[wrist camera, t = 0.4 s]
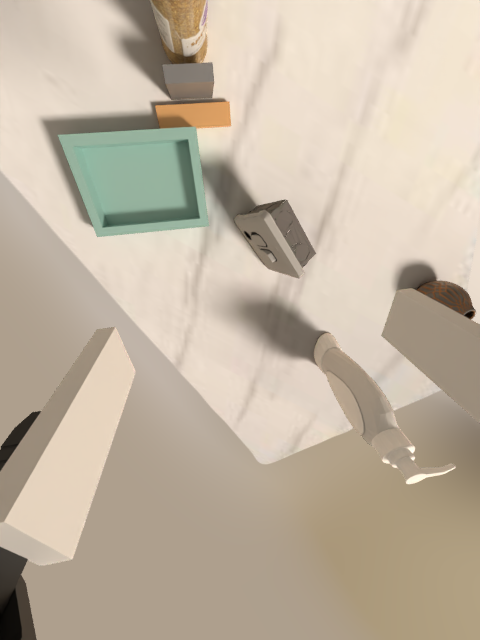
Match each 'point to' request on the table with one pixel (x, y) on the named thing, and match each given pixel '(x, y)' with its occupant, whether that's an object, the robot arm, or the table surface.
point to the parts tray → (139, 179)
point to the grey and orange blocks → (191, 85)
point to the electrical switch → (277, 237)
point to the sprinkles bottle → (182, 29)
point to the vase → (449, 296)
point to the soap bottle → (369, 410)
